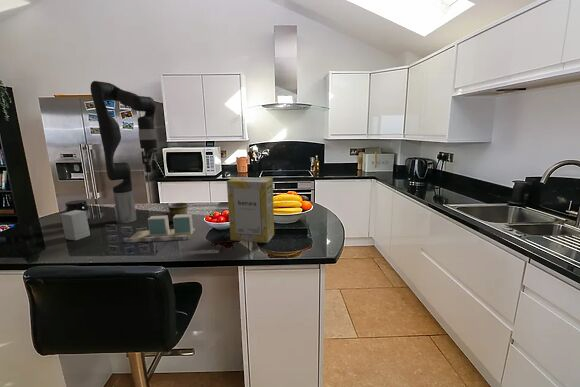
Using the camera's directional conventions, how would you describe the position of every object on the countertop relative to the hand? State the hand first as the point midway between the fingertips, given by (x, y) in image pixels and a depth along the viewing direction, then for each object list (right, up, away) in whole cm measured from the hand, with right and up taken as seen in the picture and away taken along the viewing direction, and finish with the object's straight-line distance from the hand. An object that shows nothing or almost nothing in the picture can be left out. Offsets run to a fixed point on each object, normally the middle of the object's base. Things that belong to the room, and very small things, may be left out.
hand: (152, 171), depth 142 cm
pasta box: (+52, -32, -8) cm, 62 cm away
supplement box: (-33, -33, -5) cm, 47 cm away
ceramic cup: (+7, -27, +15) cm, 32 cm away
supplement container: (-49, -28, +16) cm, 59 cm away
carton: (+8, -31, -8) cm, 33 cm away
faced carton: (+19, -31, -7) cm, 37 cm away
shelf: (+9, -33, -7) cm, 35 cm away
